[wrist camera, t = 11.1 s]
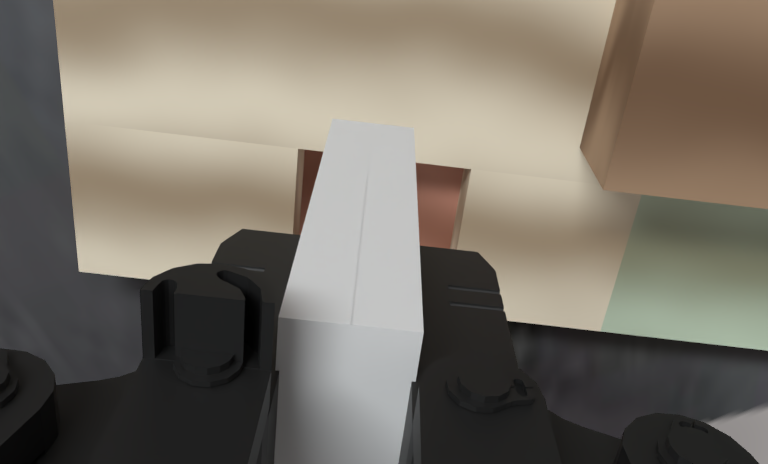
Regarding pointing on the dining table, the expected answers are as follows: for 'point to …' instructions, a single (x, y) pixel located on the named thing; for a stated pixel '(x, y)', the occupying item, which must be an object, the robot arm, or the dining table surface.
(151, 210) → the platform
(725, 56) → the walnut block
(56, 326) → the dining table surface
